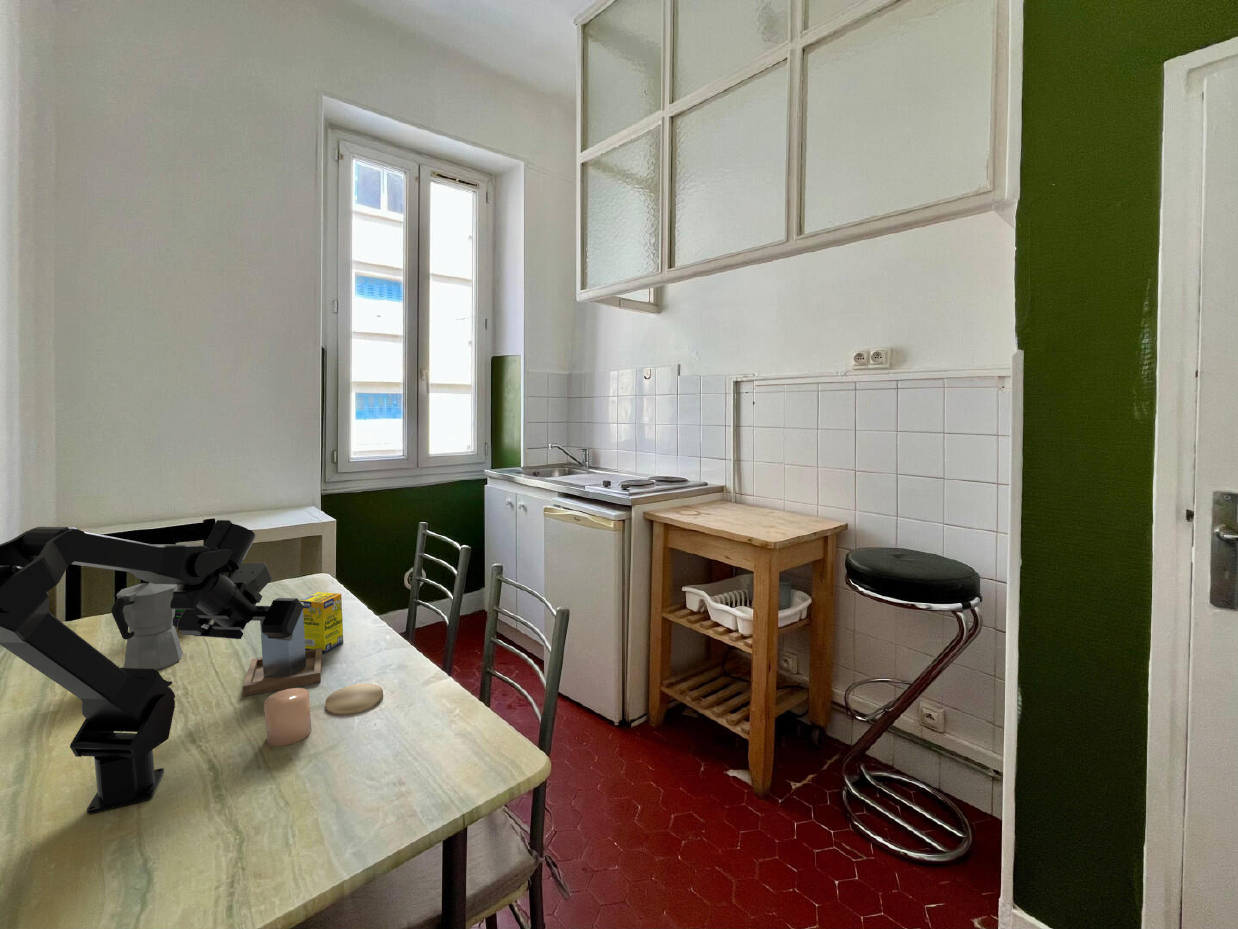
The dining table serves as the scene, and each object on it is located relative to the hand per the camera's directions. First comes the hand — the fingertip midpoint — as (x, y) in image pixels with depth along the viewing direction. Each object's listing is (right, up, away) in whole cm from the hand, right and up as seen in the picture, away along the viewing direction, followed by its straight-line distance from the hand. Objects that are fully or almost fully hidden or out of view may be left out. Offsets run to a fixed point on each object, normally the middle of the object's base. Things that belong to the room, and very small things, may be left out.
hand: (266, 637), depth 103 cm
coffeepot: (-28, -9, +9) cm, 31 cm away
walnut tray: (0, -9, +6) cm, 10 cm away
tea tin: (0, -8, +6) cm, 10 cm away
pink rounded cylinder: (+12, -11, -14) cm, 21 cm away
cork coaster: (+18, -10, -4) cm, 20 cm away
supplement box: (+1, -8, +18) cm, 20 cm away
